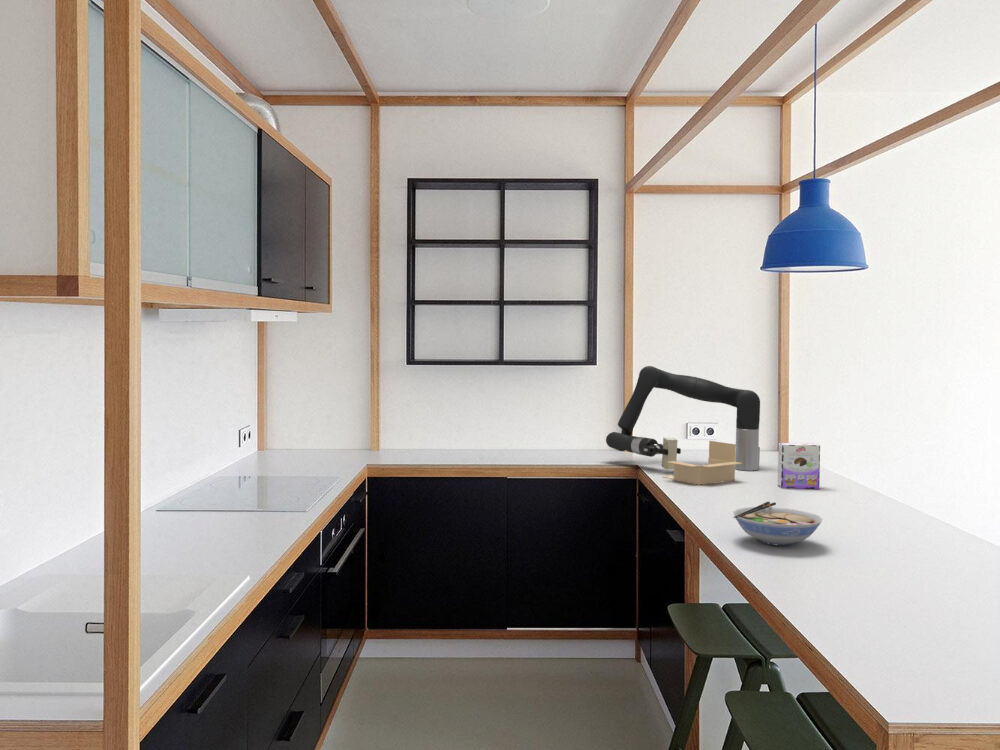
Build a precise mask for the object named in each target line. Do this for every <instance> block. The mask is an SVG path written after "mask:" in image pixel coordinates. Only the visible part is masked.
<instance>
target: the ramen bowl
mask: <svg viewBox="0 0 1000 750" xmlns="http://www.w3.org/2000/svg"><path fill="white" fill-rule="evenodd" d="M775 506H777V502H774V501H773V502H772V503H771V502H770V501H765V502H764V503H762V504H759V505H757V506H749V507H748V506H747V507H741V508H737V509H734V511H733V512H732V514H733V517H732V518H733V519H735V520H736V521H737V523H738V524H739V526H740V528H741V529H742V530H743V531H744V533H746V534H747V535H749V536H751V537H752V538H755V539H757V540H760V541H761V542H762V541H763V542H762V543H764V542H765V543H764V544H766V543H769V544H768V545H770V544H777V545H776V546H779V545H784V546H789V545H788V544H790V545H791V544H793V543H796V542H797V543H798V542H801V541H804V540H806V539H808V538H809V537H811V535H813V534H814V532H815V531H816V530H817V529H818V528H819V526H820V525H821V523H822V521H823V518H822V517H821V516H820V515H818V514H815V513H812V512H809V511H804V510H799V509H794V508H786V507H775Z"/></svg>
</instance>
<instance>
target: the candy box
mask: <svg viewBox="0 0 1000 750" xmlns="http://www.w3.org/2000/svg"><path fill="white" fill-rule="evenodd" d="M777 460H778V461H777V486H778V487H779V488H780V489H791V488H797V489H798V490H799V489H800V490H801V489H802V490H804V489H805V490H810V489H812V490H820V479H821V478H820V476H821V475H820V472H821V471H820V469H821V468H820V467H821V464H820V463H821V445H820V444H817V443H815V442H813V443H809V442H808V443H807V442H806V443H805V442H804V443H802V442H778V455H777Z"/></svg>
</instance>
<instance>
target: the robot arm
mask: <svg viewBox="0 0 1000 750" xmlns="http://www.w3.org/2000/svg"><path fill="white" fill-rule="evenodd" d="M655 388H656V389H661V390H667V391H671V392H673V393H676V394H678V395H681V396H683V397H687V398H689V399H694V400H696V401H702V402H707V403H718V404H724V405H727V406H730V407H734V408H736V420H735V426H736V427H735V444H736V448H735V462H739V463H742V464H737V465H735V470H738V471H752V472H753V470H754V471H758V470H760V458H761V455H760V453H761V450H760V449H761V447H760V446H759V445H760V444H759V443H760V442H759V441H760V439H759V438H760V418H761V417H760V416H761V399H760V397H759V395H758V394H757V393H756V392H755V391H753V390H750V389H741V388H735V387H731V386H730V387H729V386H726V385H723V384H720V383H717V382H715V381H713V380H709V379H704V378H701V377H696V376H690V375H685V374H677V373H671V372H668V371H666V370H662V369H659V368H657V367H656V366H652V365H648V366H644V367H643V368H641V370H640V371H639V373H638V379H637V381H636V384H635V386H634V390H633V392H632V395H631V396H630V399H629V401H628V403H627V404H626V406H625V408H624V410H623V412H622V414H621V416H620V418H619V420H618V422H617V427H618V428H620V429H621V431H620V432H617V431H613V432H610V433H608V434H607V436H606V438H605V443H606V445H607V446H608V447H609V448H611V449H614V450H617V451H619V452H629V453H632V454H636V455H641V456H644V457H651V458H653V457H654V456H656V455H662V454H663V455H668V449H663V443H658V441H657V440H656V439H655V438H649V437H644V436H636V435H633V432H634V428H635V425H636V424H637V422H638V419H639V417H640V415H641V413H642V411H643V409H644V405H645V403H646V401H647V399H648V397H649V395H650V393H651V392H652V391H653V389H655ZM681 453H682V450H681V448H680V447H677V455H681Z"/></svg>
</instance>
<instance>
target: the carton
mask: <svg viewBox="0 0 1000 750" xmlns="http://www.w3.org/2000/svg"><path fill="white" fill-rule="evenodd" d="M708 442H709V444H708V446H709V447H708V460H707V462H708V464H703V465H699V464H693V463H687V462H681V461H677V460H676V461H670V462H667V463H671V464H674V469H673V475H671V474H670V475H663V476H662V478H664V479H668V478H669V479H668V480H673V481H676V482H681V481H682V483H686V482H687V483H688V484H691V483H692V484H691V485H696V484H697V486H701V485H700V484H703V485H707V484H706V483H710V484H715V483H714V482H718V483H722V482H721V481H726V482H731V481H730V480H733V481H735V478H736V475H735V474H736V469H735V465H737V464H742V463H739V462H735V453H736V443H735V444H734V443H727V442H721V441H714V440H709V441H708Z"/></svg>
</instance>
